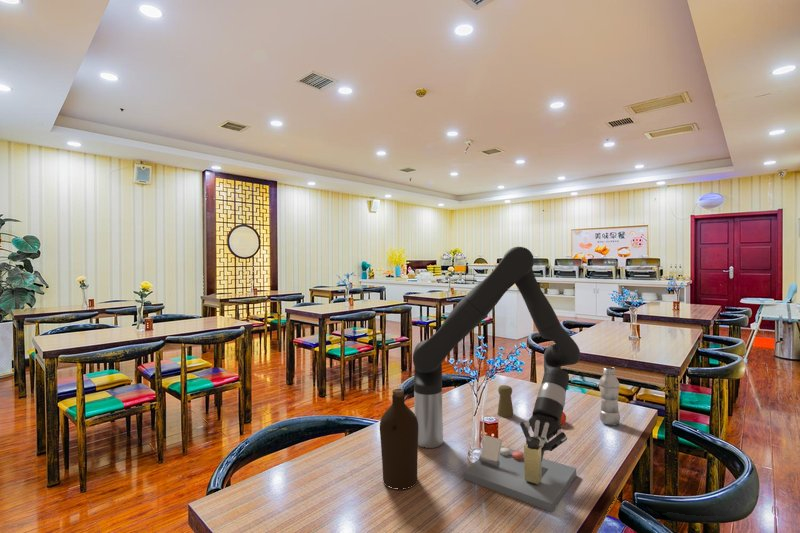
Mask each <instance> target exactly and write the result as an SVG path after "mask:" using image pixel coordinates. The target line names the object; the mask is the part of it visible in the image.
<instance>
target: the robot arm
mask: <svg viewBox="0 0 800 533" xmlns="http://www.w3.org/2000/svg"><path fill="white" fill-rule="evenodd" d="M534 259H535V258H534V254H533V253H532V252H531V251H530V249H528V248H527V247H525V246H515V247H511V248H510V249H508V250H507V251H506V252H505V253H504V255H503V257H502V258H501V260H500V261H499V262H498V264H497V265H496V266H495V267H494V268H493V269H492V271H491V272H490V274H488V275H487V276H486V277H485V278H484V279H483V280H481V281H480V282H479V283H477V284H476V285H475V286H474V287H473V288H472V289H471V290H470V291H469V292H467V293H466V294H465V295H464V296H463V297H462V299H461V300H460V301H458V303H457V304H456V305H455V306H454V307H453V309H452V310H451V311H450V313H449V314H448V315H447V317H446V319H445V320H444V321H443V323H442V324H441V326H440V327H439V328H438V330H436V332H434V334H432V335H431V336H430V337H429V338H428V339H424V340H422V341H420V342H418V343H417V344H416V346H415V348H414V351H413V353H412V364H413V367H414V370H413V371H414V377H413V379H414V380H413V396H414V400H413V401H414V402H413V403H414V405H413V406H414V412H413V413H414V414H415V416H416V418H417V421H418V445H419V446H418V447H420V448H424V447H425V448H426V449H434V448H438V447H440V446H442V445H443V443H444V427H443V426H444V422H443V421H444V420H443V419H444V418H443V417H444V415H443V413H444V412H443V364H442V363H443V362H444V361H445V359H446V358H447V357H448V355H449V354H450V353H451V351H452V350H453V349H454V348H455V346H457V345H458V344H459V343H460V342H461V341H462V340H463V339H465V337H467V336H468V335H469V334H470V333H471V332H472V331H473V330H474V329H475V328H476V327H478V325H480V323H481V322H482V321H483V320H484V319H485V318H486V317H487V316H488V315H489V314H490V312H491V311H492V310H493V309H494V308H495V307H496V306H497V304H498V303H499V301H500V300H501V299H502V297H503V296H504V294H506V292H507V291H509V290H510V288H512V287H513V286H514V285H515V286H516V287H517V289H518V291H519V293H520V295H521V296H522V299H523V301H524V303H525V305H526V307H527V310H528V313H529V314H530V317H531V319H532V321H533V323H534V325H535V327H536V329H537V332H538V334H539V335H540V337H541V338H542V339H545V340H550V341H553V344H549V345H548V346H547V347H546V348H545V350H544V352H543V372H544V374H543V377H542V380H541V385H540V386H539V389H538V391H537V395H536V399H535V403H534V407H533V410H532V414H531V416H530V417H529V419H528V421H526V422H523V421H522V422H520V424H519V425H520V428H521V430H522V433H523V434H524V437H525V439H526V438H527V437H536V438H538V439H539V446H541V462H542V459H543V458H544V455H545V452H546V451H549V452H552V451H554V450H555V449H556V448H558V447H559V446H561V445H562V444H563V443H565V442H566V441H567V440H568V437H567V435H566V433H565V432H564V431H562V427H561V424H560V422H561V417H562V413H563V412H564V409H565V405H566V399H567V398H566V397H567V390H568V386H569V382H570V375H569V373H568V372H567V371H566V370H565V369H562V367H565V366H566V367H567V366H573V365H575V364H577V363H579V362H580V359H581V350H580V348H579V345H578V344H577V343H576V342H575V340H574V339H573V338H572V336H570V334H569V333H568V332H567V331H566V329H565V328H564V327H563V326H562V324H561V322H560V319H559V318H558V316H557V314H556V312H555V310H554V309H553V306H552V305H551V302H550V301H549V300H548V298H547V296H546V295H545V293H544V292H543V290H542V288H541V286H540V285H539V283H538V280H537V278H536V276H535V272H534V269H533V267H534V263H535V260H534ZM530 429H531V430H532V432H533V436H531V434H530V432H529V431H530Z"/></svg>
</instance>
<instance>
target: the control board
mask: <svg viewBox="0 0 800 533" xmlns="http://www.w3.org/2000/svg"><path fill="white" fill-rule="evenodd" d="M499 462H500V465H499V467H496V466H493V465H490V464H487V463H484V462H481V461H479V458H477V459H476V460H475V461H474V462H473V463H472V464H470V466H468V467H467V468H466V469H465V470H464V471H463V480H465V481H468V482H469V483H470V482H471V483H473V484H476V485H478V486H482V487H483V488H486V489H489V490H492V491H495V492H497V493H500V494H502V495H504V496H508V497H510V498H513V499H515V500H518V501H521V502H524V503H527V504H529V505H531V506H534V507H538V508H539V509H542V510H545V511H548V512H550V513H553V512H554V511H555V509H556V508H557V507H558V505H559V503H560V501H561V500H562V498H563V497H564V495H565V493H566V492H567V491H568V489H569V488H570V486H571V484H572V483H573V481H574V480H575V478H576V476H577V468H576V467H574V466H571V465H566V464H563V463H561V462H556V461H553V460H549V459H546V458H544V457H543V459H542V462H541V468H542V481H541V482H540V483H539V485H538V484H535V483H532V482H529V481H526V480H525V469H524V451H519V450H516V449H513V448H509V447H506V446H503V445H501V450H500V455H499Z"/></svg>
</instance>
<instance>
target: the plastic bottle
mask: <svg viewBox="0 0 800 533" xmlns="http://www.w3.org/2000/svg"><path fill="white" fill-rule="evenodd" d="M602 373H603V375H602V376H601V377H600V378H599V380H598V385H599V391H600V409H599V420H600V421H601V423H602V424H604V425H609V426H617V425H618V424H619V423H620V421H621V414H620V411H619V391H620V382H619V380H618V378H617V377H616V368H615V367H612V366H603V371H602Z"/></svg>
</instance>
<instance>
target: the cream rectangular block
mask: <svg viewBox="0 0 800 533" xmlns="http://www.w3.org/2000/svg"><path fill="white" fill-rule="evenodd" d="M502 442H503V440H502V439H500V438H497V437H493V436H490V435H487V434H485V435H484V440H483V445H482V450H481V454H480V455H479V457H478V459H479V461H481V462H484V463H487V464H490V465H493V466H496V467H499V465H500V462H499V455H500V450H501V446H502Z"/></svg>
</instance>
